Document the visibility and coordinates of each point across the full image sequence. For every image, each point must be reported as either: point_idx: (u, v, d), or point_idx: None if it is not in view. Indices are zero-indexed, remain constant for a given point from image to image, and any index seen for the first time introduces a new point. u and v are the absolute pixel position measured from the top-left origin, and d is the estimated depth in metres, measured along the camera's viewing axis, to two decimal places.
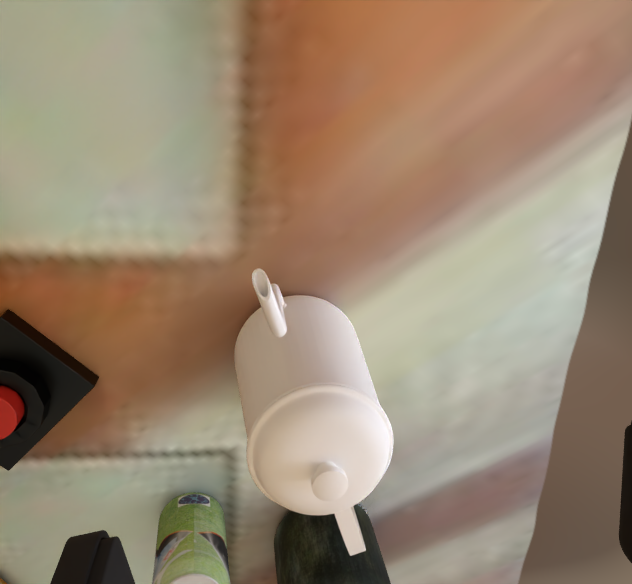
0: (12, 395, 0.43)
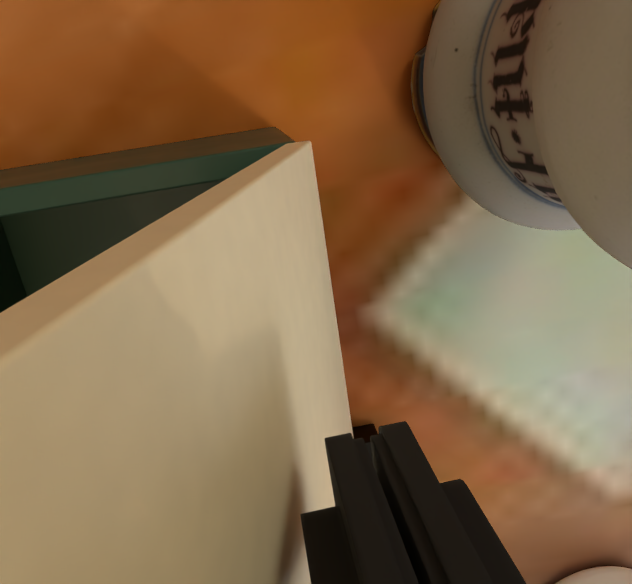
0: None
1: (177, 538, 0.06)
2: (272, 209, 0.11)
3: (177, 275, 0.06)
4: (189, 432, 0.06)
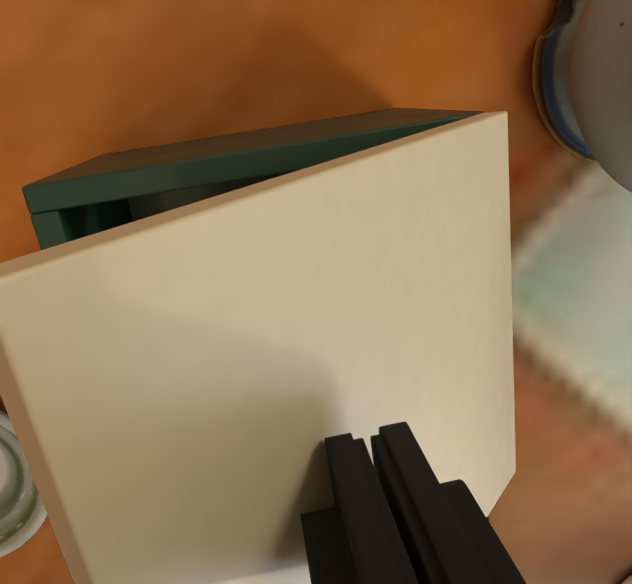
0: None
1: (213, 405, 0.08)
2: (409, 177, 0.12)
3: (252, 222, 0.08)
4: (242, 338, 0.09)
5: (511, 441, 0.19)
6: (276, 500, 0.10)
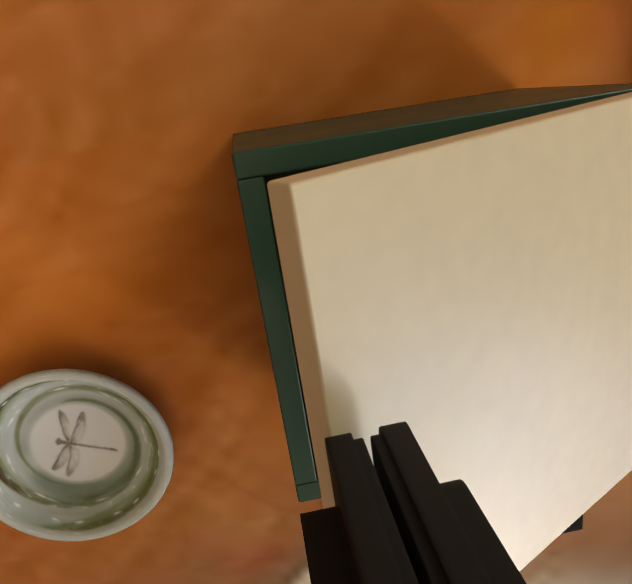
0: None
1: (410, 298, 0.11)
2: (587, 138, 0.14)
3: (453, 162, 0.11)
4: (436, 252, 0.11)
5: None
6: (446, 387, 0.12)
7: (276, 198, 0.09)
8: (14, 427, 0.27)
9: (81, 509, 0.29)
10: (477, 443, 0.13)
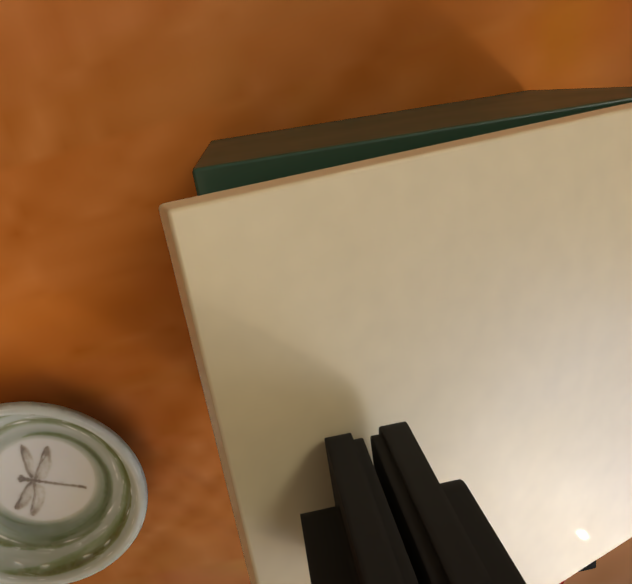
0: None
1: (333, 333, 0.10)
2: (579, 154, 0.12)
3: (388, 184, 0.10)
4: (367, 283, 0.10)
5: None
6: None
7: (164, 224, 0.09)
8: None
9: (47, 551, 0.26)
10: None
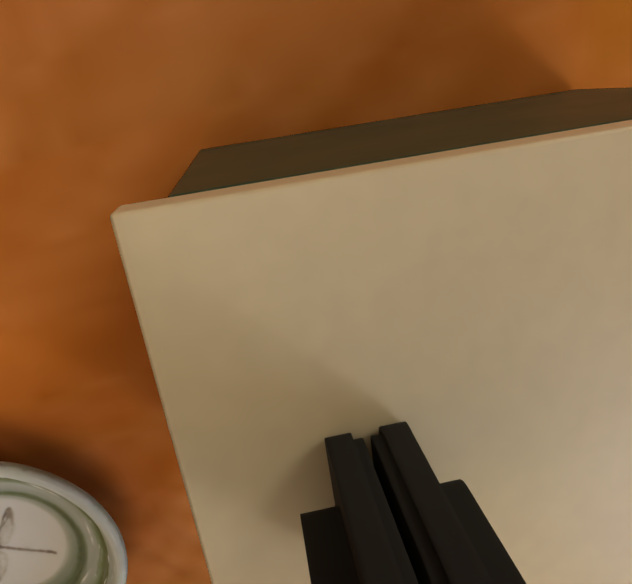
0: None
1: (287, 346, 0.10)
2: (619, 170, 0.10)
3: (351, 198, 0.09)
4: (326, 300, 0.10)
5: None
6: None
7: None
8: None
9: None
10: None
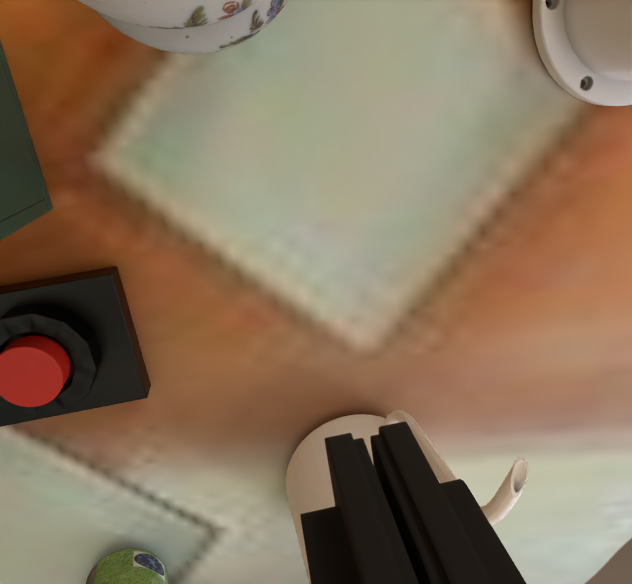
0: (67, 365, 0.34)
1: None
2: None
3: None
4: None
5: None
6: None
7: None
8: None
9: None
10: None
